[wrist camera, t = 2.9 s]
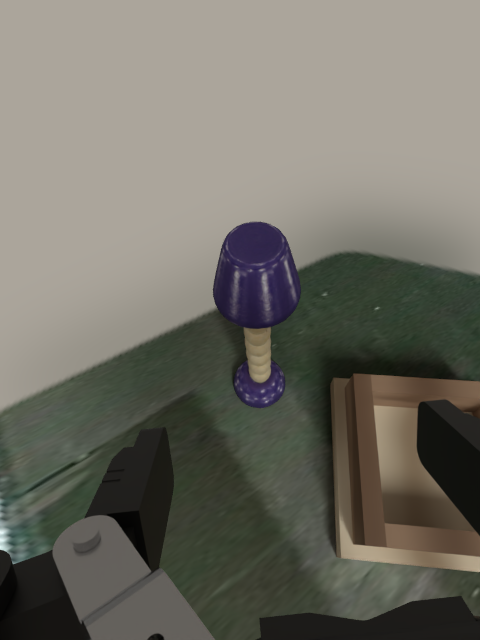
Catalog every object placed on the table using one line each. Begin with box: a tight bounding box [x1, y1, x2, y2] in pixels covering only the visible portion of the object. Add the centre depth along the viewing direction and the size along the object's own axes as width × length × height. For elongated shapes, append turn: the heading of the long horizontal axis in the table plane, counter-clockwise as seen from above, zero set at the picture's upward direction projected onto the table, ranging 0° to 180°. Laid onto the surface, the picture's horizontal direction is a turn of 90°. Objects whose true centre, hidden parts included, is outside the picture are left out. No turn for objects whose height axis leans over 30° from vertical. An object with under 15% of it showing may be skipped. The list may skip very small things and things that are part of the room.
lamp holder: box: [330, 373, 480, 572], centre depth 25 cm, size 12×12×4 cm
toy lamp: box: [213, 222, 301, 408], centre depth 24 cm, size 5×5×17 cm
